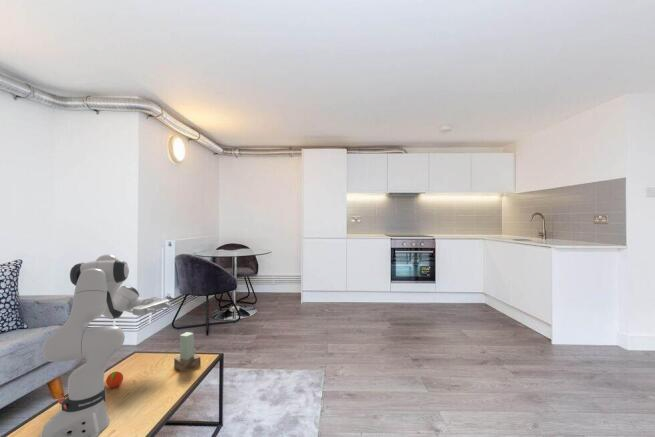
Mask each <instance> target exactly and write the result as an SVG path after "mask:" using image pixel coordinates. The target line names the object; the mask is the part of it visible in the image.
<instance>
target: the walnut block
mask: <svg viewBox="0 0 655 437" xmlns="http://www.w3.org/2000/svg"><path fill="white" fill-rule="evenodd" d="M173 359H174V360H173V364H174V367H175V368H176V369H177V370H179V371H181V373H184V372H186V371H188V370H191V369H194V368H196V366H197V367H198V366H201V363H202V362H201V356H200V355H198V354H196V353H195V352H194V357H192V358H190V359H188V360H184V359H180V355H179V356H177V357H174V358H173Z"/></svg>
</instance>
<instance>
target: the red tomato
mask: <svg viewBox="0 0 655 437" xmlns="http://www.w3.org/2000/svg"><path fill="white" fill-rule="evenodd" d="M123 380H124V375H123V373H121V372H120V371H113V372H111V373H110V374H109V375H108V376H107V377H106V380H105V383H106V386H107V387H109V388H116V387H118V386H120V385H121V384H122V382H123Z"/></svg>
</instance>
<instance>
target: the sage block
mask: <svg viewBox="0 0 655 437" xmlns="http://www.w3.org/2000/svg"><path fill="white" fill-rule="evenodd" d="M194 353H195V334H194V332H189V331H186V332H184V333H181V334H179V356H180V359H184V360H188V359H190V358H192V357H194Z"/></svg>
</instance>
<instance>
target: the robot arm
mask: <svg viewBox="0 0 655 437" xmlns="http://www.w3.org/2000/svg"><path fill="white" fill-rule="evenodd" d="M129 272H130V268H129V266H128V263H127V262H126V261H124V260H123V259H118V258H117V257H116V256H114V255H112V254H103V255H100V256H99V257H97V258H96V260H95V261H88V262H79V263H76V264H74V265H73V266H72V267H71V269H70V272H69V279H70V282H71V283H72V284H73V285H74V286H75V289H74V293H73V294H74V295H73V298H72V299H73V302H72V306H71V311H70V313H69V316H68V318H67V320H66V321H65V323H63V325H62V326H61V327H60V328H58V330H56V331H55V332H54V333H52V334H51V335H50V336H48V337H47V338H46V339H45V341H44V343H43V344H42V347H41V354H42V357H43V359H44V360H46V361H47V362H50V363H51V362H52V363H55V362H57V363H59V362H60V363H61V362H62V363H63V362H68V361H75V360H76V361H77V360H82V359H86V362H85V363H84V364H82V365H80V366H79V367H77V368H76V369H74V370H73V371H72V372H71V373H70V375H69V376H68V379H67V386H68V387H67V393H68V394H67V395H68V396H66V397H64V396H63V397H62V396H61V397H60V398H59V399H58V400H57V403H58V404H59V405H61V409H60V410H58V411H57V413H55V414H54V416H52V417H51V418H50V419H49V420H48V421H47V422H45V425H44V427H43V429H42V433H41V434H40V435H39V436H38V437H98V436H99V434H100V433H101V432H102V431H103V430H105V428H107V427H108V426H109V424H110V422H111V421H110V417H109V414H108V412H107V407H106V398H107V391H106V386H105V381H104V380H105V369H106V366H107V363H108V362H109V361H110V359H111V357H112V356H113V355H114V354H115V353H116V352H118V351H119V350H120V349H121V348H122V346H123V344H124V342H125V336H126V335H125V332H124V330H123V329H122V328H121V327H120V326H118V325H117V326H116V325H113V326H112V325H105V326H97V327H89V328H88V325H89V324H90V323H91V322H93V321H94V320H97V319H98V318H101V317H102V316H104V317H105V318H107V319H110V320H116V319H118V318H120V317H121V316H122V314H123V313H124V312H127V313H131V314H132V315H134V316H139V317H141V316H144V315H148V314H150V313H152V314H153V313H156V312H157V311H158V310H159V311H160V310H162V309H165V308H167V309H168V308H171V300H170V299H168V298H164V297H163V298H161V297H159V296H155V297H153V296H152V297H140V293H139V291H138V290H137V289H136V288H134V287H132V286H130V285H122V284H123V282H125V281H126V280H127V279H128V276H129Z"/></svg>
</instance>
